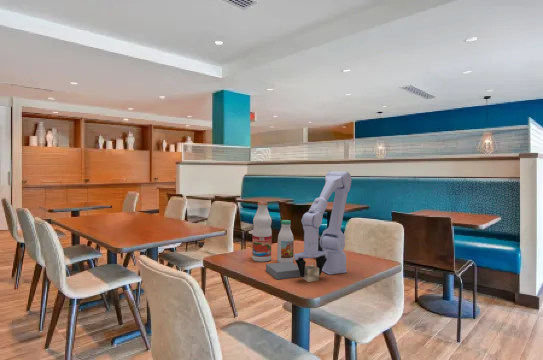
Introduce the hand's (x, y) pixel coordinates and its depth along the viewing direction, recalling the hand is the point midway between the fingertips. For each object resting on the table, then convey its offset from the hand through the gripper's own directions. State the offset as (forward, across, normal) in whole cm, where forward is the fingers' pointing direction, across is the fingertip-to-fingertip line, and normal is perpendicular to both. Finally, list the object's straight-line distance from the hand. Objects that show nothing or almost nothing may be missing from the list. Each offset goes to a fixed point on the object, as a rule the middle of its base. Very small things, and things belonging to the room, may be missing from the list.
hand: (310, 275), depth 132 cm
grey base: (+1, -7, +10) cm, 12 cm away
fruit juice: (+2, -8, +34) cm, 35 cm away
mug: (+2, +20, +28) cm, 34 cm away
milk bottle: (+2, +1, +26) cm, 26 cm away
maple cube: (+2, 0, 0) cm, 2 cm away
